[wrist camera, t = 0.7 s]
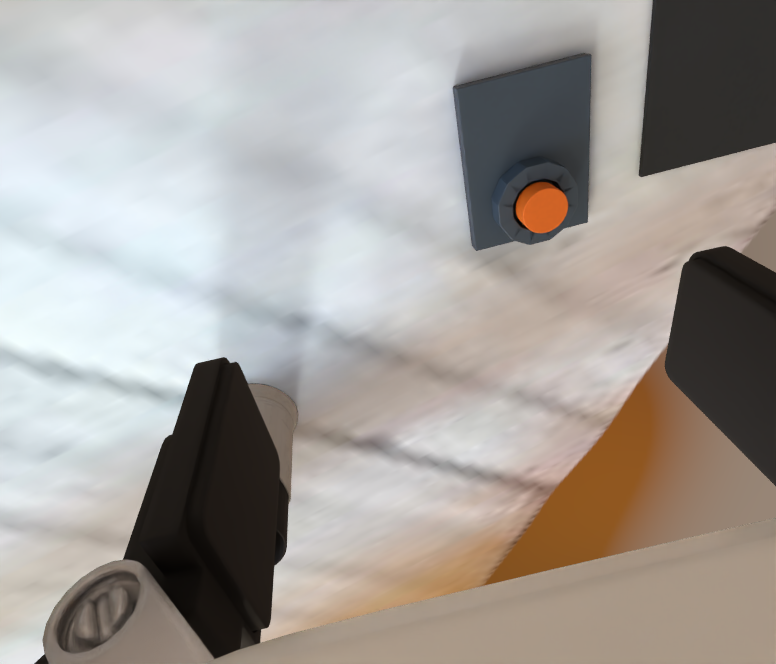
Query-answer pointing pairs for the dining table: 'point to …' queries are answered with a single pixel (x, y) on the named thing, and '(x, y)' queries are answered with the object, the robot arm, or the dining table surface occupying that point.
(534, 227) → the button
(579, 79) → the grey button base
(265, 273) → the dining table surface
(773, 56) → the desk pad
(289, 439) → the glass holder
